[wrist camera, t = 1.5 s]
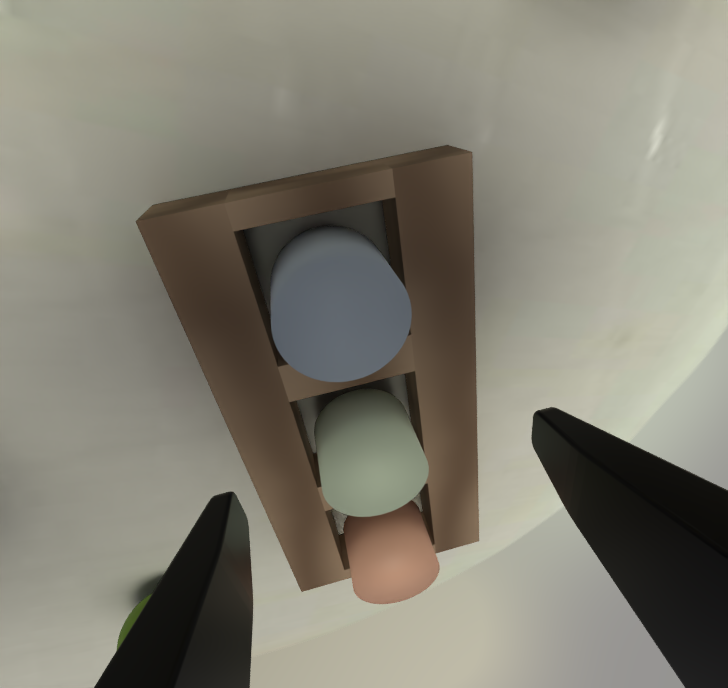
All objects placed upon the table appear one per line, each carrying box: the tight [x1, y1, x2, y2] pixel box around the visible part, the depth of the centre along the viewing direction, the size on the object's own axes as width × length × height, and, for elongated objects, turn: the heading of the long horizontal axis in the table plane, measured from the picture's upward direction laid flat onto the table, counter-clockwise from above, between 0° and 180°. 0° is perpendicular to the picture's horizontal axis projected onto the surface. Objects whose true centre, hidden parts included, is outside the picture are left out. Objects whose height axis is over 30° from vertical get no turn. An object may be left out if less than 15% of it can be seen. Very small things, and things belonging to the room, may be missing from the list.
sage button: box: [314, 389, 429, 517], centre depth 20 cm, size 5×5×4 cm
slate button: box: [270, 226, 412, 382], centre depth 16 cm, size 5×5×4 cm
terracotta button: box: [343, 500, 439, 604], centre depth 24 cm, size 5×5×4 cm
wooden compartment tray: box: [136, 145, 479, 592], centre depth 22 cm, size 12×24×2 cm, turn 9°
